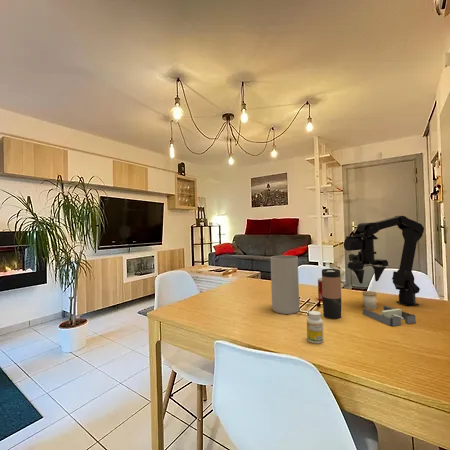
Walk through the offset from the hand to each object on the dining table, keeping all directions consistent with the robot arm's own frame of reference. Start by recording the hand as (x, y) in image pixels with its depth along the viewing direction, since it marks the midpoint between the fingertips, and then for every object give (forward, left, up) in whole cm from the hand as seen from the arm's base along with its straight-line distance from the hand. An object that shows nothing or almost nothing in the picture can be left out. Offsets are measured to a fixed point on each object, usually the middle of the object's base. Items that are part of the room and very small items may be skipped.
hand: (368, 282), depth 123 cm
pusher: (+4, +18, -11) cm, 22 cm away
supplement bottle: (+44, +23, -12) cm, 51 cm away
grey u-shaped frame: (+4, +14, -12) cm, 19 cm away
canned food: (+12, -16, -12) cm, 23 cm away
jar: (0, 0, -12) cm, 12 cm away
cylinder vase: (+39, -9, -12) cm, 42 cm away
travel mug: (+24, +5, -12) cm, 27 cm away
